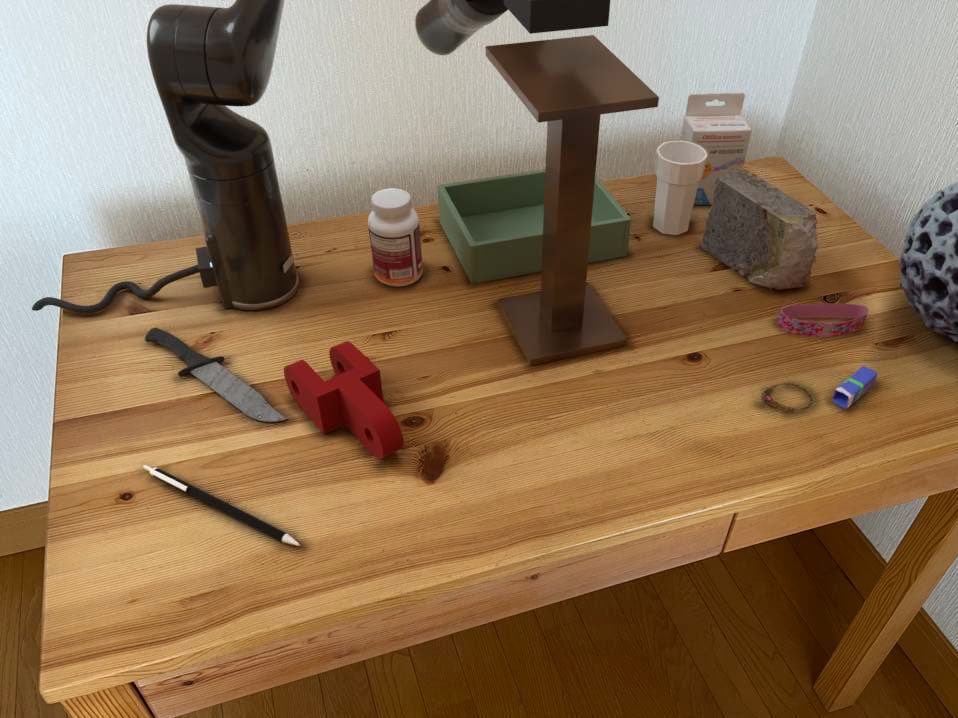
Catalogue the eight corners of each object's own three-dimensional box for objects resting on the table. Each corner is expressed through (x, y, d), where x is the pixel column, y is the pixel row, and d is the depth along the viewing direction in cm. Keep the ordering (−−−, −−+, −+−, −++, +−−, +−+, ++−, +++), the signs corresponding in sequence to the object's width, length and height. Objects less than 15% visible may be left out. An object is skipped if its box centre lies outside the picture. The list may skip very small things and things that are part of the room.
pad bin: (471, 284, 108) (470, 246, 105) (439, 221, 119) (437, 184, 115) (627, 256, 114) (631, 219, 110) (583, 198, 125) (585, 163, 121)
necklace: (751, 392, 95) (753, 385, 94) (799, 381, 97) (801, 374, 96) (770, 418, 92) (773, 412, 92) (819, 406, 94) (822, 400, 93)
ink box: (680, 207, 124) (696, 109, 114) (671, 189, 127) (686, 93, 117) (736, 204, 125) (757, 107, 115) (726, 187, 128) (746, 91, 118)
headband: (876, 322, 102) (870, 336, 103) (865, 301, 105) (860, 316, 106) (786, 324, 101) (782, 338, 103) (778, 304, 104) (774, 318, 106)
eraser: (835, 388, 93) (851, 396, 92) (862, 364, 97) (878, 372, 96) (830, 401, 95) (847, 410, 94) (857, 377, 98) (873, 385, 97)
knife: (260, 440, 88) (299, 415, 91) (258, 433, 87) (297, 408, 90) (133, 344, 97) (172, 323, 100) (131, 336, 97) (170, 316, 100)
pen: (149, 463, 84) (141, 461, 83) (304, 541, 78) (298, 540, 77) (145, 471, 84) (137, 469, 83) (300, 550, 78) (294, 549, 77)
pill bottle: (397, 255, 113) (389, 179, 105) (433, 271, 110) (428, 195, 103) (364, 276, 109) (354, 199, 101) (400, 294, 106) (393, 216, 99)
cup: (682, 243, 117) (694, 169, 109) (638, 228, 119) (648, 155, 112) (701, 221, 121) (715, 149, 114) (659, 208, 124) (670, 136, 116)
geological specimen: (710, 174, 109) (796, 229, 100) (745, 163, 112) (831, 216, 103) (695, 245, 117) (774, 303, 108) (728, 233, 119) (808, 289, 110)
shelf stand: (530, 366, 97) (538, 112, 77) (487, 287, 108) (485, 45, 88) (626, 345, 101) (659, 96, 80) (576, 270, 111) (593, 34, 91)
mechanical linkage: (288, 394, 93) (280, 357, 89) (347, 369, 96) (341, 333, 93) (363, 478, 83) (357, 441, 80) (425, 447, 87) (422, 410, 84)
